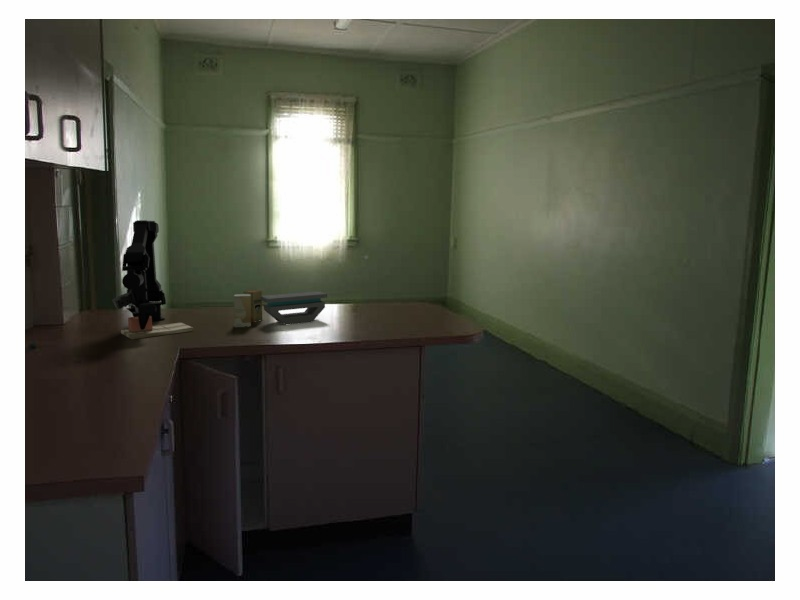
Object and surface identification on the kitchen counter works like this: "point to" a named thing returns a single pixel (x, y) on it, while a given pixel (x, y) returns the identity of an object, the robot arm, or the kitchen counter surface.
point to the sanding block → (138, 325)
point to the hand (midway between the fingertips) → (140, 328)
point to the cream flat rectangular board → (159, 330)
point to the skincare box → (242, 310)
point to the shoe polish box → (255, 304)
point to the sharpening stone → (295, 306)
